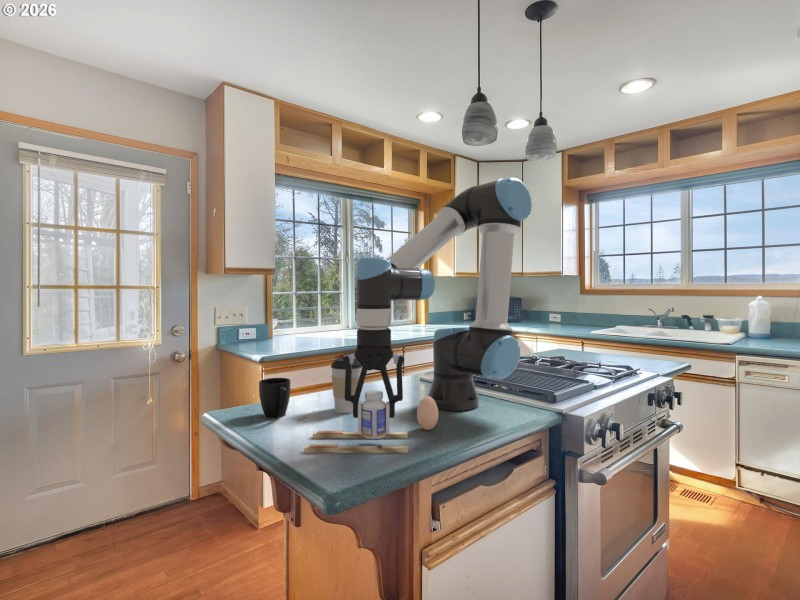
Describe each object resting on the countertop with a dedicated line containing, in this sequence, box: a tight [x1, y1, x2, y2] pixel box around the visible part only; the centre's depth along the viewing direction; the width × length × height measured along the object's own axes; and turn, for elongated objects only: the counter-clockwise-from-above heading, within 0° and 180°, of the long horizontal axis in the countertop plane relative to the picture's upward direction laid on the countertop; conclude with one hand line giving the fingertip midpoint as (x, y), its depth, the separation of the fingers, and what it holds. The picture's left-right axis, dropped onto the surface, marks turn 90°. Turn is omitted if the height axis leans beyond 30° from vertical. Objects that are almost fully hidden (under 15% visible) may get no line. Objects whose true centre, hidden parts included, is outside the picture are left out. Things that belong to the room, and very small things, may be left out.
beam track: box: [303, 430, 409, 454], centre depth 95 cm, size 22×10×1 cm, turn 90°
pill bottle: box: [362, 389, 386, 440], centre depth 95 cm, size 5×5×10 cm
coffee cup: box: [330, 356, 362, 414], centre depth 122 cm, size 9×9×15 cm
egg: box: [416, 395, 439, 431], centre depth 105 cm, size 5×5×8 cm
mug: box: [258, 377, 291, 419], centre depth 115 cm, size 8×12×10 cm
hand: (374, 431), depth 95 cm, fingers closed on pill bottle, 5 cm apart
